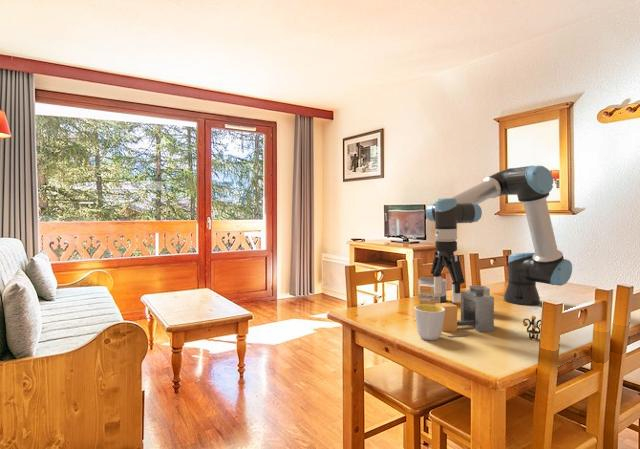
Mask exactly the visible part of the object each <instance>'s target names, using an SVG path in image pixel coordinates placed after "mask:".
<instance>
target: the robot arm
mask: <svg viewBox="0 0 640 449" xmlns="http://www.w3.org/2000/svg"><path fill="white" fill-rule="evenodd" d="M553 185H554V177H553V175H552V173H551V170H549V169H548V168H547V167H545V166H544V165H528V166H527V165H526V166H520V167H511V168H510V167H509V168H506V169H502V170H500V171H498V172H496V173H493V174H492V175H490V176H487V177H485V178H483V180H482V181H481V182H480V183H478V184H477V185H474V186H472V187H470V188H468V189H466V190H464V191H462V192H460V193H458V194H455V195H454V196H452V197H450V198H449V197H448V198H447V197H445V198H443V197H442V198H437V199H436V200H435V202H434V203H431V204H428V205H427V207H426V210H425V216H426V218H427V219H428V221H430V222H433V223H435V231H434V234H435V240H436V241H435V243H434V244H435V251H434V254H433V256H434V257H433V262H432V264H431V270H430V274H432V275H433V276H432V277H434V294H440V293H442V282H441V278H442V276H443V275H442V272H443V270H444V268H445V267H446V269H447V270H448V272H449V275H450V277H451V281H452V283H451V290H452V291H451V297H452V299H451V303H452V304H454V303H461V285H462V284H464V283H465V281H466V280H465V279H464V275H463V274H464V273H463V270H462V266H461V263H460V256H459V254H456V255H454V254H455V253H454V252H457V251H458V241H456V240H457V239H458V224H472V223H478V222H479V220H481V218H482V217H483V216H482V215H483V212H482V207H481V206H480V204H481V203H484V202H485V201H487V200H490V199H496V198H498V197H500V196H517V199H518V200H517V201H518V202H520V203H521V204H523V208H524V211H525V217H526V220H527V224H528V229H529V232H530V237H531V241H532V245H533V249H534V252H517V253H510V254H509V255H508V261H507V266H508V267H507V268H508V269H507V271H508V272H507V275H508V276H507V286H506V289H505V292H504V294H503V300H504V302H506V303H507V302H508V303H510V304H516V305H521V306H522V305H523V306H524V305H527V306H533V305H539V304H540V303H541V298H540V295H539V292H538V289H537V286H536V284H537V283H540V284H545V285H547V284H548V285H551V286H559V287H561V286H564V285H566V284H567V283H568V282H569V281H570V279H571V277H572V274H573V263H572V262H571V260H569V259H567V258H565V259H564V253H563V251H561V250H559V249H558V247H557V246H558V245H557V241H556V238H555V237H556V236H555V232H554V228H553V227H554V226H553V223H552V220H551V219H552V218H551V215H550V209H549V206H548V203H547V202H548V201H547V199H548V197H549V196H550V192H551V191H552V189H553Z"/></svg>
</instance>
